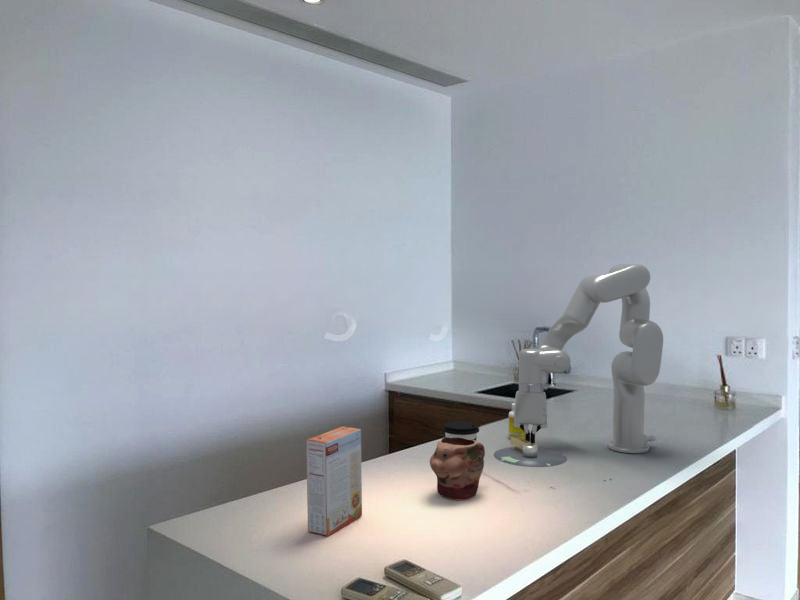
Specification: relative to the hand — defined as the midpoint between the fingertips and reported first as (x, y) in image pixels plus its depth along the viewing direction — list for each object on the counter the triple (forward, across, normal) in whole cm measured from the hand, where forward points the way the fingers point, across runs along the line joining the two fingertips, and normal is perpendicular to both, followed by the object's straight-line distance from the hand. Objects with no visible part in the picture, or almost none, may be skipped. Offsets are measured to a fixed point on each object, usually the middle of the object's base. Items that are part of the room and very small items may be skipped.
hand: (530, 445), depth 207 cm
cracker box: (+3, +44, +68) cm, 81 cm away
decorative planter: (+3, +18, +42) cm, 46 cm away
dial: (+2, 0, +8) cm, 9 cm away
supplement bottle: (+3, +4, -13) cm, 14 cm away
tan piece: (+1, +2, +5) cm, 5 cm away
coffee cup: (+3, +20, +17) cm, 27 cm away
